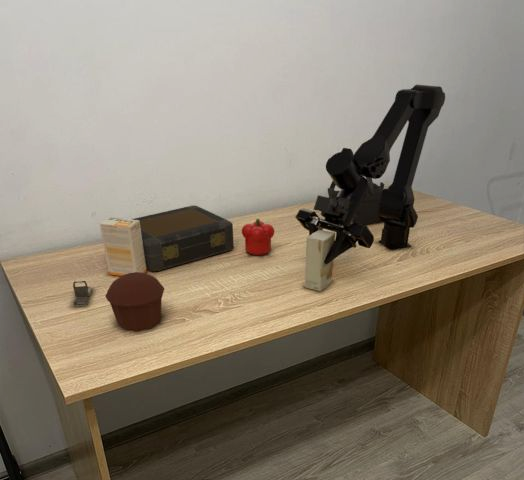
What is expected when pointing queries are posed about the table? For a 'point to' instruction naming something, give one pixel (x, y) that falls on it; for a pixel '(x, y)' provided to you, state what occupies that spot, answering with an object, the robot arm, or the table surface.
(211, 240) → the cash box
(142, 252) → the supplement box
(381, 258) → the table surface
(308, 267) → the cosmetic box
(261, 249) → the red pepper
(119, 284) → the muffin
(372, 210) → the virtual reality headset
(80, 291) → the strap clip
